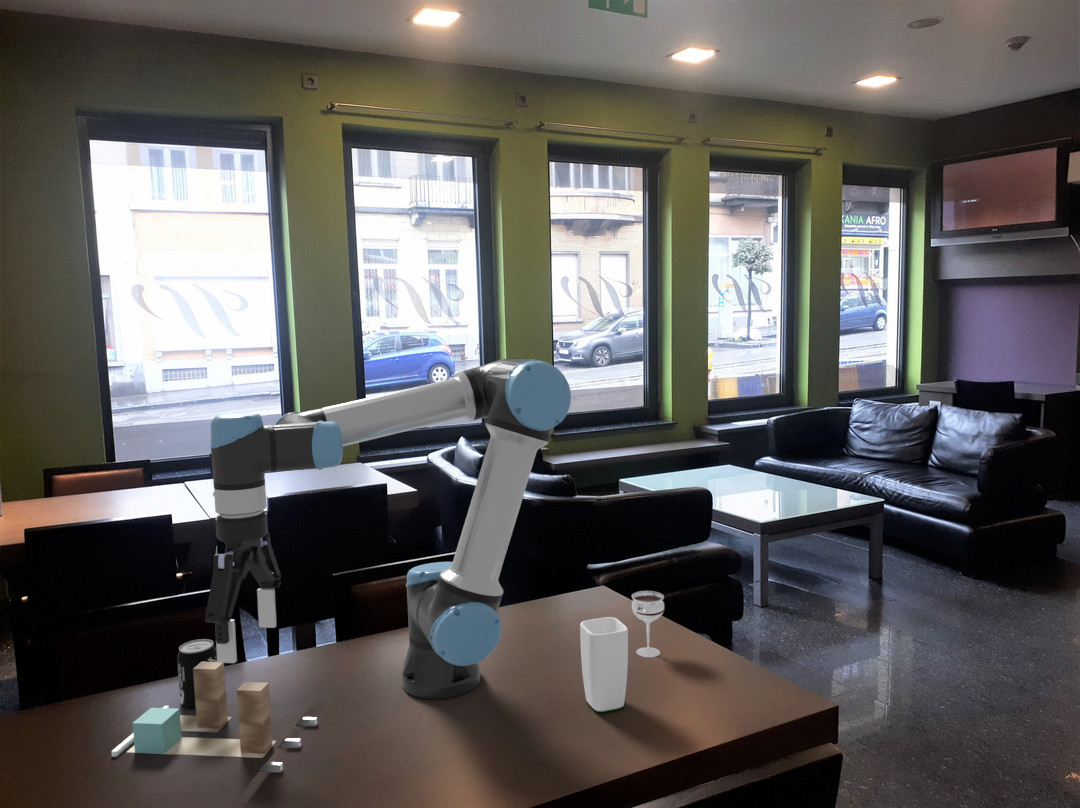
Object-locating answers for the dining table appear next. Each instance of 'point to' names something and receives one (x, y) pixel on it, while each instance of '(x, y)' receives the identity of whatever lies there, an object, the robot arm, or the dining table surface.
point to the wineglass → (648, 615)
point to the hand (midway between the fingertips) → (248, 643)
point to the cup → (604, 662)
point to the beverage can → (187, 661)
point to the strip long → (251, 729)
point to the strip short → (208, 699)
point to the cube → (157, 730)
